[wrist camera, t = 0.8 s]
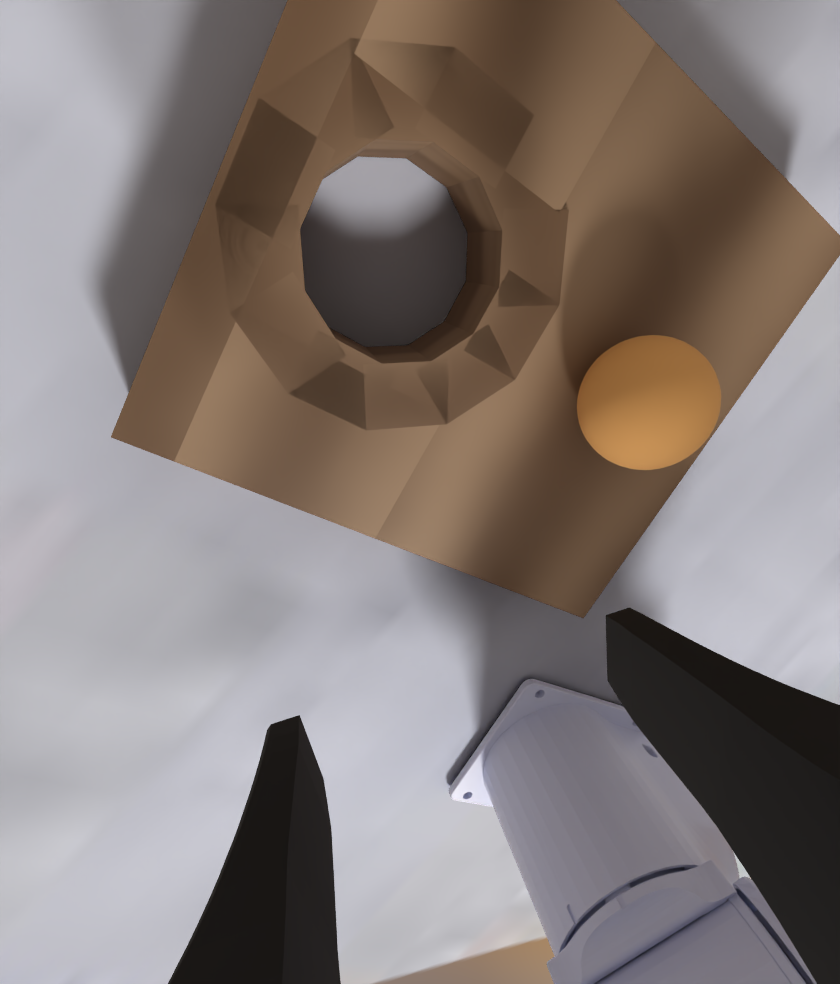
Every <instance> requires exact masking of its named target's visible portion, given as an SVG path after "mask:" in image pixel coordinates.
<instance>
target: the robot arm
mask: <svg viewBox="0 0 840 984" xmlns="http://www.w3.org/2000/svg"><path fill="white" fill-rule="evenodd" d="M606 640H607V676H608V682H609V683H610V685H611V687H612V688H613V690H614V692H615V693H616V695H617V697H618V698H619V700H620V702H621V703H622V705H623V706H621V705H617V704H614V703H611V702H608V701H604V700H601V699H598V698H595V697H591V696H588V695H585V694H582V693H578V692H575V691H572V690H568V689H565V688H562V687H559V686H555V685H552V684H549V683H546V682H542V681H539V680H536V679H528V680H526V681H524V682H523V683H522V684H521V686H520V687H519V689H518V690H517V691H516V693H515V694H514V696H513V697H512V699H511V700H510V702H509V703H508V704H507V706H506V707H505V709H504V710H503V712H502V713H501V714H500V716H499V717H498V719H497V720H496V722H495V723H494V724H493V726H492V727H491V729H490V730H489V732H488V733H487V735H486V736H485V737H484V739H483V740H482V742H481V743H480V745H479V746H478V747H477V749H476V750H475V752H474V753H473V755H472V756H471V757H470V759H469V760H468V762H467V763H466V765H465V766H464V768H463V769H462V770H461V772H460V773H459V775H458V776H457V778H456V779H455V780H454V782H453V783H452V785H451V786H450V788H449V794H450V797H451V798H452V799H453V800H456V801H462V802H468V803H473V804H479V805H485V806H490V807H494V809H495V812H496V814H497V817H498V819H499V822H500V824H501V826H502V829H503V831H504V834H505V836H506V839H507V841H508V843H509V846H510V848H511V851H512V853H513V856H514V858H515V860H516V863H517V865H518V868H519V870H520V873H521V875H522V878H523V880H524V882H525V885H526V887H527V890H528V892H529V895H530V897H531V899H532V902H533V904H534V907H535V909H536V912H537V914H538V917H539V919H540V921H541V924H542V926H543V929H544V931H545V934H546V936H547V938H548V941H549V943H550V946H551V948H552V951H553V953H554V955H555V957H553V958H552V959H551V960H549V961H548V962H547V967H548V970H549V972H550V974H551V977H552V979H553V982H554V984H840V705H838V704H835V703H832V702H829V701H827V700H824V699H821V698H819V697H816V696H813V695H811V694H808V693H806V692H803V691H800V690H798V689H795V688H793V687H790V686H788V685H785V684H783V683H781V682H778V681H776V680H774V679H771V678H769V677H767V676H765V675H762V674H760V673H758V672H756V671H753V670H751V669H749V668H747V667H745V666H742V665H740V664H738V663H736V662H734V661H732V660H730V659H728V658H726V657H724V656H722V655H720V654H717V653H715V652H713V651H712V650H710V649H708V648H706V647H704V646H702V645H700V644H698V643H696V642H694V641H692V640H690V639H688V638H686V637H684V636H682V635H681V634H679V633H677V632H675V631H673V630H671V629H669V628H667V627H665V626H664V625H662V624H660V623H658V622H656V621H654V620H652V619H650V618H649V617H647V616H645V615H643V614H641V613H639V612H637V611H635V610H633V609H631V608H627V609H624V610H621V611H618V612H615V613H611V614H608V615H606ZM537 691H538V692H537ZM732 850H733V851H732ZM733 852H734V853H735V855H736V856H737V858H738V859H739V860H740V862H741V863H742V865H743V866H744V868H745V869H746V871H747V872H748V874H749V876H750V877H751V879H750V878H748V877H742V878H740V879H739V872H738V868H737V863H736V860H735V856H734V853H733ZM168 984H341V982H340V973H339V961H338V950H337V930H336V911H335V891H334V871H333V853H332V835H331V824H330V818H329V811H328V804H327V798H326V792H325V786H324V780H323V776H322V774H321V771H320V768H319V766H318V763H317V760H316V758H315V755H314V753H313V750H312V747H311V745H310V742H309V739H308V737H307V734H306V731H305V729H304V726H303V723H302V721H301V718H300V715H298V716H295V717H292V718H289V719H286V720H283V721H280V722H277V723H274V724H271V725H270V727H269V728H268V730H267V733H266V737H265V742H264V746H263V750H262V754H261V757H260V761H259V764H258V768H257V771H256V775H255V778H254V781H253V785H252V788H251V791H250V794H249V797H248V800H247V803H246V806H245V809H244V812H243V815H242V817H241V820H240V823H239V826H238V829H237V832H236V834H235V837H234V840H233V842H232V845H231V847H230V850H229V852H228V855H227V857H226V860H225V862H224V865H223V868H222V870H221V873H220V875H219V878H218V880H217V882H216V885H215V887H214V889H213V892H212V894H211V896H210V899H209V901H208V903H207V905H206V907H205V910H204V912H203V914H202V916H201V918H200V920H199V923H198V925H197V927H196V929H195V931H194V933H193V935H192V937H191V939H190V942H189V944H188V946H187V948H186V949H185V951H184V953H183V955H182V957H181V959H180V961H179V963H178V965H177V967H176V969H175V971H174V973H173V975H172V977H171V979H170V981H169V983H168Z"/></svg>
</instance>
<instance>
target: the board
mask: <svg viewBox="0 0 840 984" xmlns="http://www.w3.org/2000/svg"><path fill="white" fill-rule="evenodd" d="M357 156H361V157H387V158H407V159H408V160H409V161H411V162H412V163H414V164H415V165H416V166H418V167H419V168H421V169H422V170H423V171H425V172H426V173H427V174H429V175H430V176H432V177H433V178H434V179H436V180H437V181H439V182H440V183H441V184H443V185H444V186H445V187H447V189H448V192H449V194H450V196H451V198H452V200H453V202H454V205H455V207H456V209H457V211H458V213H459V215H460V218H461V220H462V222H463V224H464V226H465V228H466V231H467V263H466V282H465V284H464V286H463V288H462V290H461V291H460V293H459V295H458V297H457V299H456V301H455V302H454V304H453V306H452V308H451V310H450V312H449V314H448V315H447V317H446V319H445V321H444V322H443V323H441V324H440V325H438V326H437V327H435V328H434V329H432V330H431V331H429V332H428V333H426V334H424V335H423V336H421V337H420V338H418V339H417V340H415V341H414V342H412V343H411V344H409V345H402V346H378V347H364V346H362V345H360V344H359V343H357V342H355V341H353V340H351V339H349V338H347V337H346V336H344V335H342V334H340V333H338V332H336V331H334V330H333V329H331V328H329V327H328V326H327V324H326V323H325V321H324V320H323V318H322V317H321V315H320V313H319V312H318V310H317V309H316V307H315V306H314V304H313V303H312V301H311V299H310V298H309V296H308V295H307V293H306V292H305V286H304V273H303V261H302V248H301V236H300V228H301V225H302V223H303V221H304V219H305V217H306V214H307V212H308V210H309V208H310V206H311V203H312V201H313V199H314V197H315V195H316V192H317V190H318V188H319V186H320V183H321V181H322V179H324V178H325V177H327V176H328V175H330V174H331V173H333V172H335V171H336V170H338V169H339V168H341V167H342V166H344V165H345V164H347V163H348V162H350V161H351V160H353V159H354V158H356V157H357ZM839 255H840V235H839V234H838V233H837V232H836V231H835V230H834V229H833V228H832V227H831V226H830V225H829V224H828V222H827V221H826V220H825V219H824V218H823V217H822V216H821V215H820V214H819V213H818V212H817V211H816V210H815V209H814V208H813V207H812V206H811V205H810V204H809V203H808V201H807V200H806V199H805V198H804V197H803V196H802V195H801V194H800V193H799V192H798V191H797V190H796V189H795V188H794V187H793V186H792V185H791V184H790V183H789V182H788V180H787V179H786V178H785V177H784V176H783V175H782V174H781V173H780V172H779V171H778V170H777V169H776V168H775V167H774V166H773V165H772V164H771V163H770V162H769V161H768V159H767V158H766V157H765V156H764V155H763V154H762V153H761V152H760V151H759V150H758V149H757V148H756V147H755V146H754V145H753V144H752V143H751V142H750V141H749V140H748V138H747V137H746V136H745V135H744V134H743V133H742V132H741V131H740V130H739V129H738V128H737V127H736V126H735V125H734V124H733V123H732V122H731V121H730V120H729V119H728V117H727V116H726V115H725V114H724V113H723V112H722V111H721V110H720V109H719V108H718V107H717V106H716V105H715V104H714V103H713V102H712V101H711V100H710V99H709V98H708V96H707V95H706V94H705V93H704V92H703V91H702V90H701V89H700V88H699V87H698V86H697V85H696V84H695V83H694V82H693V81H692V80H691V79H690V78H689V77H688V75H687V74H686V73H685V72H684V71H683V70H682V69H681V68H680V67H679V66H678V65H677V64H676V63H675V62H674V61H673V60H672V59H671V58H670V57H669V56H668V55H667V53H666V52H665V51H664V50H663V49H662V48H661V47H660V46H659V45H658V44H657V43H656V42H655V41H654V40H653V39H652V38H651V37H650V36H649V35H648V34H647V32H646V31H645V30H644V29H643V28H642V27H641V26H640V25H639V24H638V23H637V22H636V21H635V20H634V19H633V18H632V17H631V16H630V15H629V14H628V13H627V11H626V10H625V9H624V8H623V7H622V6H621V5H620V4H619V3H618V2H617V1H616V0H288V1H287V3H286V6H285V8H284V11H283V13H282V16H281V18H280V20H279V23H278V25H277V28H276V30H275V33H274V35H273V38H272V40H271V43H270V45H269V48H268V50H267V53H266V55H265V58H264V60H263V62H262V65H261V67H260V70H259V72H258V75H257V77H256V80H255V82H254V85H253V87H252V90H251V92H250V95H249V97H248V100H247V102H246V104H245V107H244V109H243V112H242V114H241V117H240V119H239V122H238V124H237V127H236V129H235V132H234V134H233V137H232V139H231V142H230V144H229V146H228V149H227V151H226V154H225V156H224V159H223V161H222V164H221V166H220V169H219V171H218V174H217V176H216V179H215V181H214V184H213V186H212V188H211V191H210V193H209V196H208V198H207V201H206V203H205V206H204V208H203V211H202V213H201V216H200V218H199V221H198V223H197V226H196V228H195V230H194V233H193V235H192V238H191V240H190V243H189V245H188V248H187V250H186V253H185V255H184V258H183V260H182V263H181V265H180V268H179V270H178V272H177V275H176V277H175V280H174V282H173V285H172V287H171V290H170V292H169V295H168V297H167V300H166V302H165V305H164V307H163V310H162V312H161V314H160V317H159V319H158V322H157V324H156V327H155V329H154V332H153V334H152V337H151V339H150V342H149V344H148V347H147V349H146V352H145V354H144V356H143V359H142V361H141V364H140V366H139V369H138V371H137V374H136V376H135V379H134V381H133V384H132V386H131V389H130V391H129V394H128V396H127V398H126V401H125V403H124V406H123V408H122V411H121V413H120V416H119V418H118V421H117V423H116V426H115V428H114V431H113V433H112V436H111V437H112V438H114V439H117V440H120V441H122V442H125V443H127V444H130V445H133V446H135V447H138V448H141V449H143V450H146V451H148V452H151V453H154V454H156V455H159V456H161V457H164V458H167V459H169V460H172V461H174V462H177V463H180V464H182V465H185V466H187V467H190V468H193V469H195V470H198V471H201V472H203V473H206V474H208V475H211V476H214V477H216V478H219V479H221V480H224V481H227V482H229V483H232V484H234V485H237V486H240V487H242V488H245V489H247V490H250V491H253V492H255V493H258V494H261V495H263V496H266V497H268V498H271V499H274V500H276V501H279V502H281V503H284V504H287V505H289V506H292V507H294V508H297V509H300V510H302V511H305V512H307V513H310V514H313V515H315V516H318V517H320V518H323V519H326V520H328V521H331V522H334V523H336V524H339V525H341V526H344V527H347V528H349V529H352V530H354V531H357V532H360V533H362V534H365V535H367V536H370V537H373V538H375V539H378V540H380V541H383V542H386V543H388V544H391V545H394V546H396V547H399V548H401V549H404V550H407V551H409V552H412V553H414V554H417V555H420V556H422V557H425V558H427V559H430V560H433V561H435V562H438V563H440V564H443V565H446V566H448V567H451V568H454V569H456V570H459V571H461V572H464V573H467V574H469V575H472V576H474V577H477V578H480V579H482V580H485V581H487V582H490V583H493V584H495V585H498V586H500V587H503V588H506V589H508V590H511V591H514V592H516V593H519V594H521V595H524V596H527V597H529V598H532V599H534V600H537V601H540V602H542V603H545V604H547V605H550V606H553V607H555V608H558V609H560V610H563V611H566V612H568V613H571V614H573V615H576V616H579V617H581V618H584V617H585V615H586V614H587V613H588V611H589V610H590V608H591V607H592V605H593V604H594V603H595V601H596V600H597V598H598V597H599V596H600V594H601V593H602V591H603V590H604V588H605V587H606V586H607V584H608V583H609V581H610V580H611V579H612V577H613V576H614V574H615V573H616V571H617V570H618V569H619V567H620V566H621V564H622V563H623V562H624V560H625V559H626V557H627V556H628V554H629V553H630V552H631V550H632V549H633V547H634V546H635V545H636V543H637V542H638V540H639V539H640V537H641V536H642V535H643V533H644V532H645V530H646V529H647V528H648V526H649V525H650V523H651V522H652V520H653V519H654V518H655V516H656V515H657V513H658V512H659V510H660V509H661V508H662V506H663V505H664V503H665V502H666V501H667V499H668V498H669V496H670V495H671V493H672V492H673V491H674V489H675V488H676V486H677V485H678V484H679V482H680V481H681V479H682V478H683V476H684V475H685V474H686V472H687V471H688V469H689V468H690V467H691V465H692V464H693V462H694V461H695V459H696V458H697V457H698V455H699V454H700V452H701V451H702V450H703V448H704V447H705V445H706V444H707V442H708V441H709V440H710V438H711V437H712V435H713V434H714V433H715V431H716V430H717V428H718V427H719V425H720V424H721V423H722V421H723V420H724V418H725V417H726V416H727V414H728V413H729V411H730V410H731V408H732V407H733V406H734V404H735V403H736V401H737V400H738V399H739V397H740V396H741V394H742V393H743V391H744V390H745V389H746V387H747V386H748V384H749V383H750V382H751V380H752V379H753V377H754V376H755V374H756V373H757V372H758V370H759V369H760V367H761V366H762V365H763V363H764V362H765V360H766V359H767V357H768V356H769V355H770V353H771V352H772V350H773V349H774V348H775V346H776V345H777V343H778V342H779V340H780V339H781V338H782V336H783V335H784V333H785V332H786V330H787V329H788V328H789V326H790V325H791V323H792V322H793V321H794V319H795V318H796V316H797V315H798V313H799V312H800V311H801V309H802V308H803V306H804V305H805V304H806V302H807V301H808V299H809V298H810V296H811V295H812V294H813V292H814V291H815V289H816V288H817V287H818V285H819V284H820V282H821V281H822V279H823V278H824V277H825V275H826V274H827V272H828V271H829V270H830V268H831V267H832V265H833V264H834V262H835V261H836V260H837V258H838V257H839ZM647 335H661V336H668V337H673V338H676V339H678V340H681V341H684V342H686V343H687V344H689V345H691V346H692V347H694V348H696V349H697V350H698V351H699V352H700V353H701V354H702V355H704V356H705V357H706V359H707V360H708V361H709V362H710V364H711V366H712V367H713V369H714V371H715V373H716V375H717V378H718V381H719V384H720V389H721V407H720V413H719V417H718V420H717V423H716V425H715V427H714V429H713V431H712V433H711V434H710V436H709V437H708V439H707V440H706V441H705V443H704V444H703V445H702V446H701V447H700V448H699V449H698V450H697V451H695V452H694V453H693V454H691V455H690V456H689V457H687V458H686V459H684V460H682V461H680V462H678V463H676V464H673V465H671V466H668V467H664V468H660V469H653V470H636V469H630V468H626V467H622V466H619V465H617V464H614V463H612V462H610V461H608V460H607V459H605V458H604V457H602V456H601V455H600V454H598V453H597V452H596V451H595V450H594V449H593V448H592V446H591V445H590V444H589V442H588V441H587V440H586V438H585V436H584V434H583V432H582V430H581V427H580V424H579V420H578V415H577V398H578V393H579V389H580V386H581V383H582V381H583V378H584V376H585V375H586V373H587V371H588V370H589V368H590V367H591V365H592V364H593V363H594V362H595V361H596V359H597V358H598V357H599V356H601V355H602V354H603V353H604V352H605V351H607V350H608V349H610V348H611V347H613V346H615V345H616V344H618V343H620V342H623V341H625V340H628V339H631V338H635V337H638V336H647Z"/></svg>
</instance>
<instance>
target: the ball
mask: <svg viewBox="0 0 840 984" xmlns="http://www.w3.org/2000/svg"><path fill="white" fill-rule="evenodd" d="M720 407H721V389H720V384H719V381H718V378H717V375H716V373H715V371H714V369H713V367H712V366H711V364H710V362H709V361H708V360H707V359H706V357H705V356H704V355H702V354H701V353H700V352H699V351H698V350H697V349H696V348H694V347H692V346H691V345H689V344H687V343H686V342H684V341H681V340H678V339H676V338H673V337H668V336H661V335H647V336H638V337H635V338H631V339H628V340H625V341H623V342H620V343H618V344H616V345H615V346H613V347H611V348H610V349H608V350H607V351H605V352H604V353H603V354H602V355H601V356H599V357H598V358H597V359H596V361H595V362H594V363H593V364H592V365H591V367H590V368H589V370H588V371H587V373H586V375H585V376H584V378H583V381H582V383H581V386H580V389H579V393H578V398H577V415H578V420H579V424H580V427H581V430H582V432H583V434H584V436H585V438H586V440H587V441H588V442H589V444H590V445H591V446H592V448H593V449H594V450H595V451H596V452H597V453H598V454H600V455H601V456H602V457H604V458H605V459H607V460H608V461H610V462H612V463H614V464H617V465H619V466H622V467H626V468H630V469H636V470H653V469H660V468H664V467H668V466H671V465H673V464H676V463H678V462H680V461H682V460H684V459H686V458H687V457H689V456H690V455H691V454H693V453H694V452H695V451H697V450H698V449H699V448H700V447H701V446H702V445H703V444H704V443H705V441H706V440H707V439H708V437H709V436H710V434H711V433H712V431H713V429H714V427H715V425H716V423H717V420H718V417H719V413H720Z"/></svg>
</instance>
